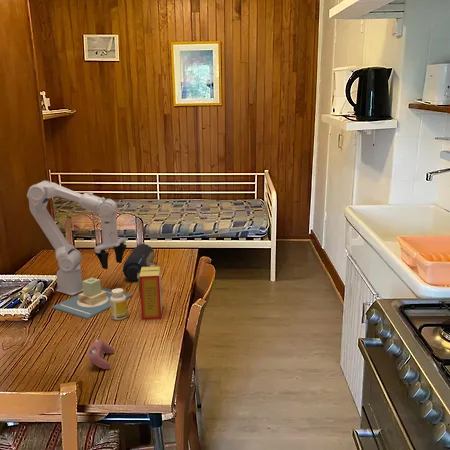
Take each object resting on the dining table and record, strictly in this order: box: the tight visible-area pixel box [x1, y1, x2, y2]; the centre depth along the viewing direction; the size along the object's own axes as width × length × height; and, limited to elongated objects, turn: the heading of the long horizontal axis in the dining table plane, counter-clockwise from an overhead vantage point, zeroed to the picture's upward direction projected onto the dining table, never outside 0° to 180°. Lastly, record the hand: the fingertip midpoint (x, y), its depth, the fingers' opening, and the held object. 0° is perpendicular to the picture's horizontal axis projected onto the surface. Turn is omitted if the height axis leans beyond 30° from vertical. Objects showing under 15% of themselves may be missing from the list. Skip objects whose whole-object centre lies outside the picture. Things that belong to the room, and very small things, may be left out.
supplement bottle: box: [110, 287, 128, 321], centre depth 161 cm, size 5×5×10 cm
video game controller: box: [87, 339, 115, 370], centre depth 134 cm, size 10×5×7 cm, turn 5°
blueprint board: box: [51, 286, 132, 320], centre depth 173 cm, size 18×22×4 cm
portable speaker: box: [122, 243, 156, 281], centre depth 202 cm, size 25×10×10 cm, turn 178°
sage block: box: [82, 276, 102, 296], centre depth 172 cm, size 4×4×6 cm
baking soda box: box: [139, 265, 163, 321], centre depth 162 cm, size 10×6×16 cm
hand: (112, 265), depth 182 cm, fingers open, 7 cm apart
